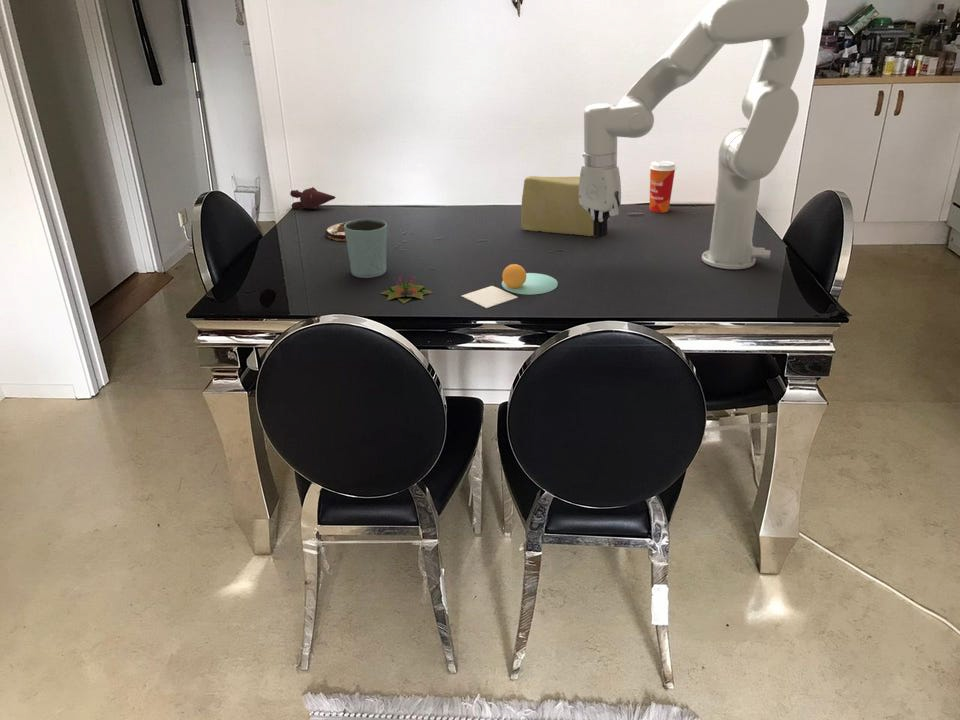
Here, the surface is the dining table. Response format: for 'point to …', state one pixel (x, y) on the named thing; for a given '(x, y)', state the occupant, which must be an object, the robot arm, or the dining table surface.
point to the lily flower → (397, 290)
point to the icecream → (310, 198)
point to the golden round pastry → (337, 232)
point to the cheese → (554, 206)
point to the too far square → (489, 296)
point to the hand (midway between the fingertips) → (600, 235)
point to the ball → (514, 276)
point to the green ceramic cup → (366, 247)
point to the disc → (534, 284)
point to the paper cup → (661, 185)
